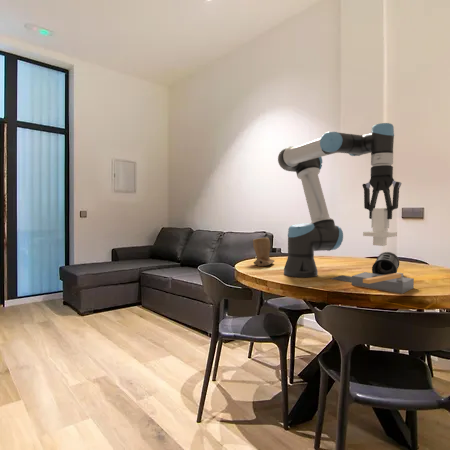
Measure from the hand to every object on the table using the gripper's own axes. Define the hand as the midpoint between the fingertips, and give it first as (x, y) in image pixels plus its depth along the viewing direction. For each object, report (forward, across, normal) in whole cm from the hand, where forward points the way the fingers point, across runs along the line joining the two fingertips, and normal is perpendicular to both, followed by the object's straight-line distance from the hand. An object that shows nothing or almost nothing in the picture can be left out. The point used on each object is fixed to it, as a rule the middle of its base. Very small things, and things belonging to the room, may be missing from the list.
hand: (380, 227), depth 121 cm
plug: (+7, 0, 0) cm, 7 cm away
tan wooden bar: (+17, +7, -13) cm, 22 cm away
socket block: (+23, +1, 0) cm, 23 cm away
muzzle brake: (+23, -5, +21) cm, 32 cm away
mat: (+23, -14, +4) cm, 27 cm away
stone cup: (+23, -65, +9) cm, 69 cm away
